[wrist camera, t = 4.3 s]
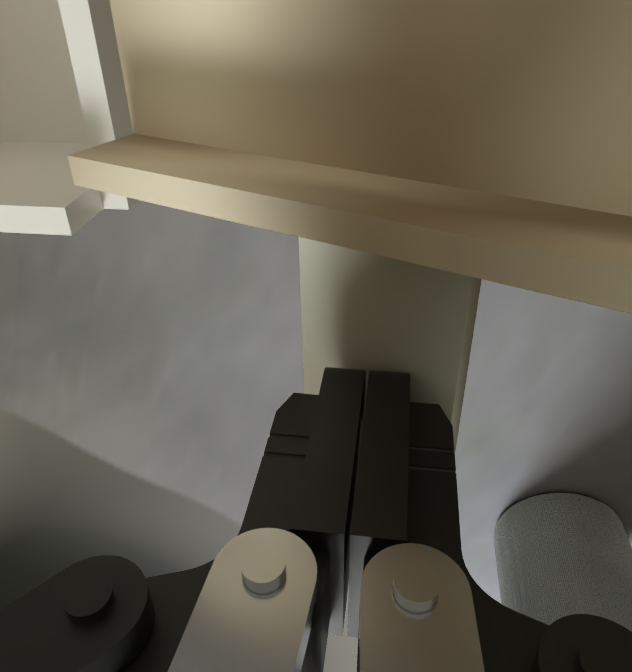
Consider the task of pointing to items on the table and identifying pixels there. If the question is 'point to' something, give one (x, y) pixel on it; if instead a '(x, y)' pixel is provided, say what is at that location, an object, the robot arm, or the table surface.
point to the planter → (564, 559)
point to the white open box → (56, 110)
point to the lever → (390, 157)
